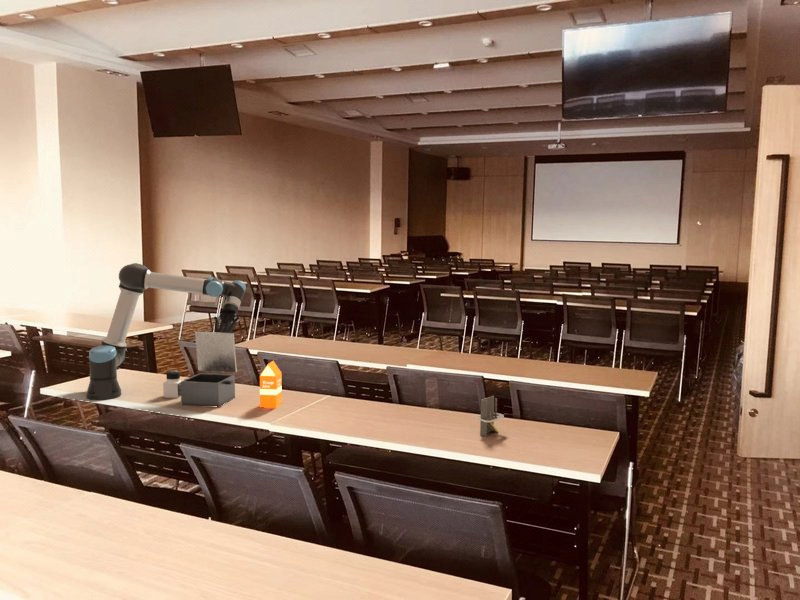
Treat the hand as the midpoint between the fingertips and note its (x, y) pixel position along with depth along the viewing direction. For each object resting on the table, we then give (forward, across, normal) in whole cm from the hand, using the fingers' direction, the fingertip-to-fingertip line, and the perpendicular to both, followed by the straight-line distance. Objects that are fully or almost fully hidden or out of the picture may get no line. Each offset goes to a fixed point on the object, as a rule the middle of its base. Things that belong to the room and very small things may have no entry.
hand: (217, 345), depth 303 cm
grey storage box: (+24, 0, -10) cm, 26 cm away
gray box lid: (+4, 0, -1) cm, 4 cm away
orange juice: (+25, -30, -10) cm, 40 cm away
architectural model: (+43, -130, +7) cm, 137 cm away
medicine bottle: (+20, +21, -15) cm, 33 cm away
